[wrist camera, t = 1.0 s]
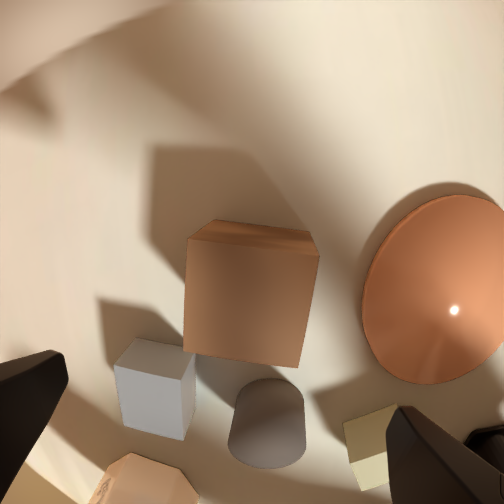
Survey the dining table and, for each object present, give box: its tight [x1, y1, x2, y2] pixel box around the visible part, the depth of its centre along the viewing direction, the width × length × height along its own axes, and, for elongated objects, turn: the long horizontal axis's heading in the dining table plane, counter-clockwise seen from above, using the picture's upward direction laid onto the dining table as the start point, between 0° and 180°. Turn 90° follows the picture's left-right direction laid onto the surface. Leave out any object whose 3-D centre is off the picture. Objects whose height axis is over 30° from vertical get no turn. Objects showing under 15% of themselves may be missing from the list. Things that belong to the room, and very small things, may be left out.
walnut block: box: [183, 220, 319, 368], centre depth 15 cm, size 5×5×5 cm
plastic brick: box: [113, 338, 196, 441], centre depth 18 cm, size 4×5×4 cm
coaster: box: [362, 195, 504, 384], centre depth 16 cm, size 12×12×1 cm
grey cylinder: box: [228, 378, 306, 469], centre depth 18 cm, size 4×4×4 cm
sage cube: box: [343, 403, 398, 491], centre depth 18 cm, size 4×4×4 cm
